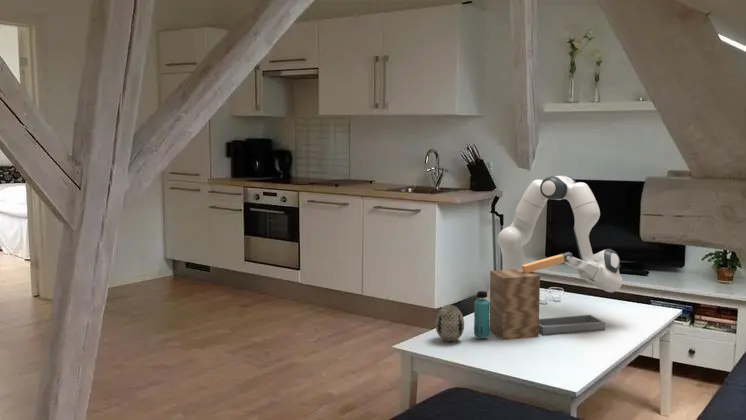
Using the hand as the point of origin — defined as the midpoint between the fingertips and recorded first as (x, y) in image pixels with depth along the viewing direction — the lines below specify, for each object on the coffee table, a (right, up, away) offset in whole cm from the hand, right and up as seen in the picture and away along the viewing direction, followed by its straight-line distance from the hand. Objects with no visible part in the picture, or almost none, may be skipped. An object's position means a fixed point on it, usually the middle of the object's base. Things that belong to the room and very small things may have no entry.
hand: (564, 256), depth 299 cm
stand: (-22, -33, -1) cm, 39 cm away
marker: (-7, -4, -1) cm, 8 cm away
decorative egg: (-50, -34, -10) cm, 61 cm away
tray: (+3, -32, +5) cm, 32 cm away
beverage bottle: (-36, -34, -7) cm, 50 cm away
